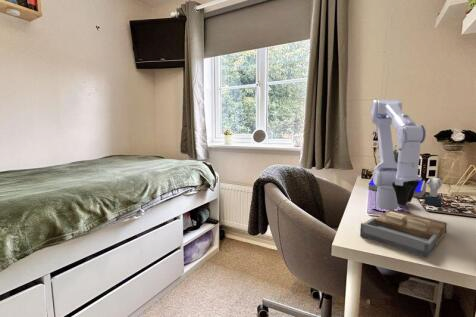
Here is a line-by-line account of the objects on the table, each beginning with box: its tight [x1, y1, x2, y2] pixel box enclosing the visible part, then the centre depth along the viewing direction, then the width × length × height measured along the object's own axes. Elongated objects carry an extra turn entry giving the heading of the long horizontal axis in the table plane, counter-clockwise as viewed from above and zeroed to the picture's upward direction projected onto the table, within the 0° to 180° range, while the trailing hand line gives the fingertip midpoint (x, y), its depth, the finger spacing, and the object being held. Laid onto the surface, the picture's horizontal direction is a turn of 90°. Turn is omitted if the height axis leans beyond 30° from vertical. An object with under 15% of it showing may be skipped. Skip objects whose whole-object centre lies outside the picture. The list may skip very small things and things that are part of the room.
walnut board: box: [375, 210, 448, 245], centre depth 81 cm, size 14×16×3 cm
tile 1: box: [385, 212, 407, 225], centre depth 81 cm, size 4×4×2 cm
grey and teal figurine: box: [423, 177, 443, 207], centre depth 106 cm, size 6×8×11 cm
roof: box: [368, 174, 427, 199], centre depth 126 cm, size 22×14×7 cm, turn 46°
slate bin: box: [359, 217, 438, 259], centre depth 73 cm, size 9×17×4 cm, turn 41°
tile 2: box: [407, 217, 430, 231], centre depth 76 cm, size 4×4×2 cm
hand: (404, 203), depth 85 cm, fingers open, 5 cm apart
